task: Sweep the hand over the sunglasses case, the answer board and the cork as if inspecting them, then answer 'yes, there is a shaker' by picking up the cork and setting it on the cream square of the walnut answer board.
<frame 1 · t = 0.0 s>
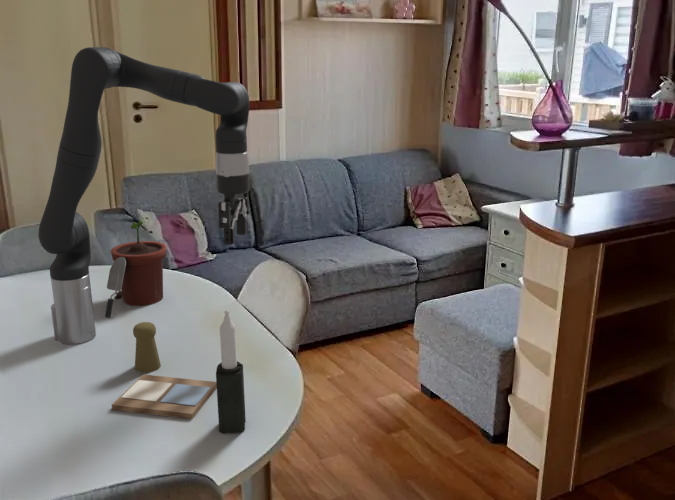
hand: (235, 239, 161), 29 cm above the table, tool pointing down, fingers open, 8 cm apart
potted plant: (134, 302, 204), on the table
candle: (232, 427, 137), on the table
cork: (147, 367, 162), on the table
answer board: (166, 397, 148), on the table
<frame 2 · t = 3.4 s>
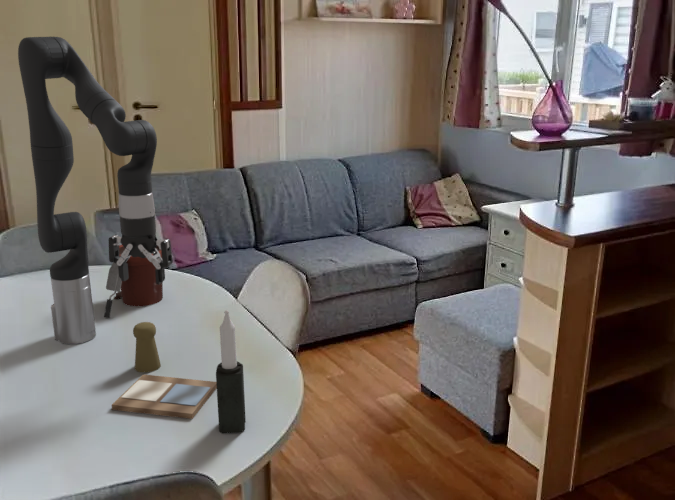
hand: (142, 281, 155), 22 cm above the table, tool pointing down, fingers open, 8 cm apart
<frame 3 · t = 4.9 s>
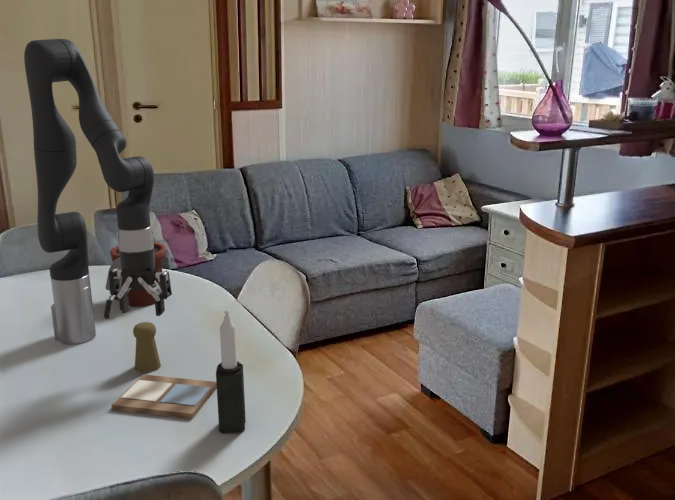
hand: (142, 313, 158), 14 cm above the table, tool pointing down, fingers open, 8 cm apart
nothing on the table moved.
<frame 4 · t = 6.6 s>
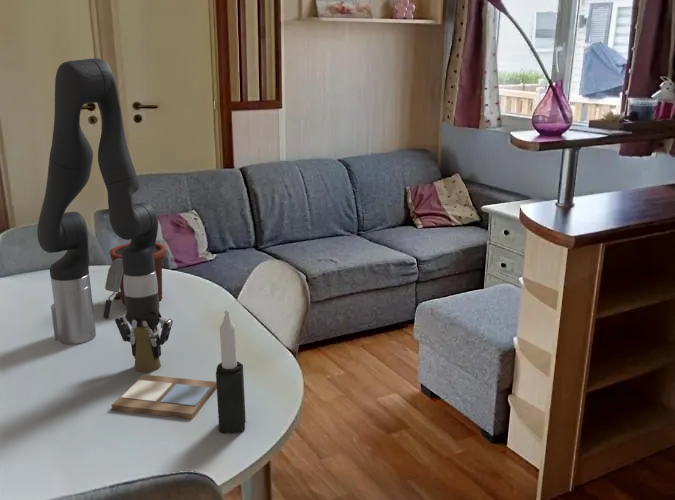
hand: (147, 357, 162), 2 cm above the table, tool pointing down, fingers closed on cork, 4 cm apart
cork: (147, 367, 162), on the table, touching gripper
everything else where it was.
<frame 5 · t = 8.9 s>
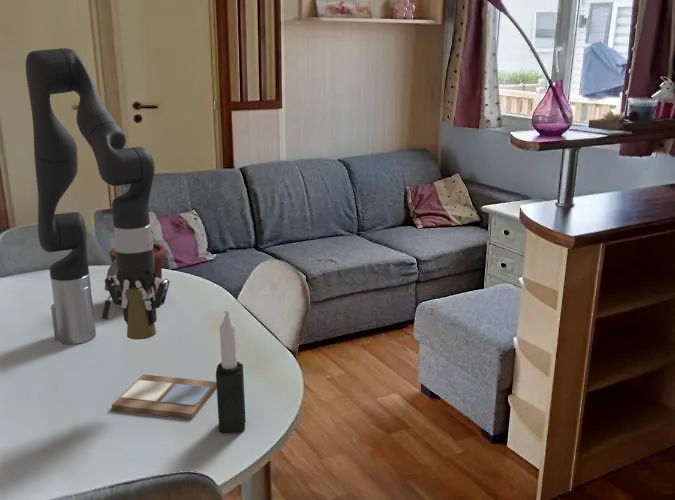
hand: (140, 323, 144), 17 cm above the table, tool pointing down, fingers closed on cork, 4 cm apart
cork: (141, 334, 145), point 14 cm above the table, touching gripper
when the fingers open (5 cm above the table, at t = 11.4 s): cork stays where it is, resting on answer board.
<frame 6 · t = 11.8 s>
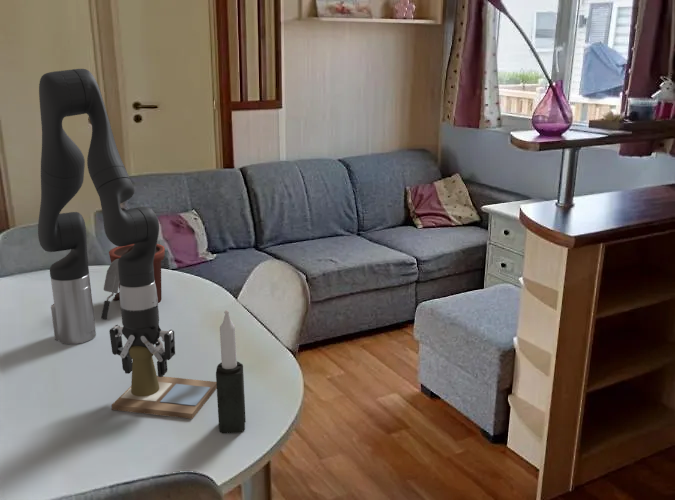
hand: (145, 373, 147), 5 cm above the table, tool pointing down, fingers open, 7 cm apart
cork: (145, 390, 149), point 1 cm above the table, touching answer board
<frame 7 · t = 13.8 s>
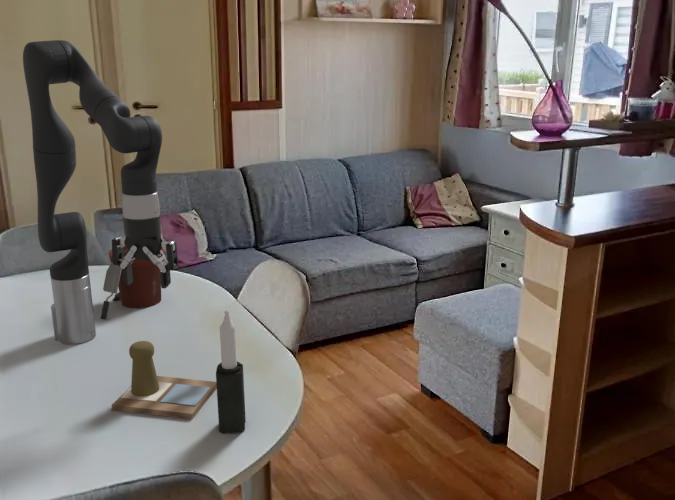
hand: (147, 285, 148), 23 cm above the table, tool pointing down, fingers open, 8 cm apart
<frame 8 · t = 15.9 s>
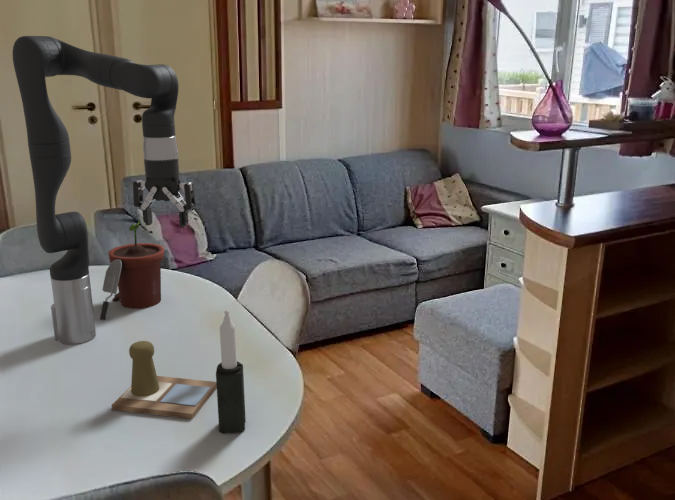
hand: (166, 225, 158), 33 cm above the table, tool pointing down, fingers open, 8 cm apart
at the end: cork inside the target area (0.4 cm from its centre), point 1.2 cm above the table; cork tilted 0°; the gripper is holding nothing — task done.
